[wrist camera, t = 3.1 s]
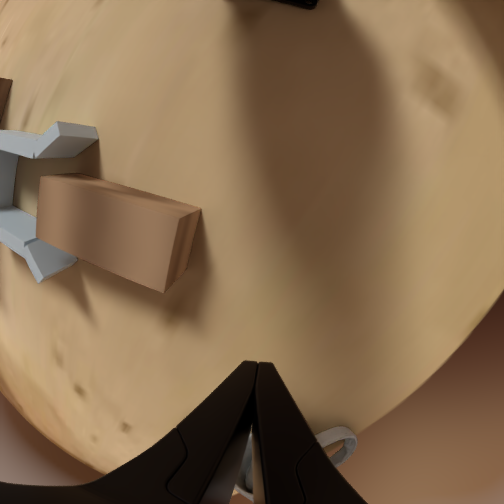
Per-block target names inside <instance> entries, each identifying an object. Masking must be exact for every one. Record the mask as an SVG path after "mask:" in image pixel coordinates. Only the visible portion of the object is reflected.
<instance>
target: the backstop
mask: <svg viewBox="0 0 504 504" xmlns="http://www.w3.org/2000/svg"><path fill="white" fill-rule="evenodd" d="M11 83H12V80H10V79H4V78H0V121H1V117H2V113H3V109H4V106H5V102H6V99H7V96H8V92H9V89H10V86H11Z"/></svg>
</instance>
